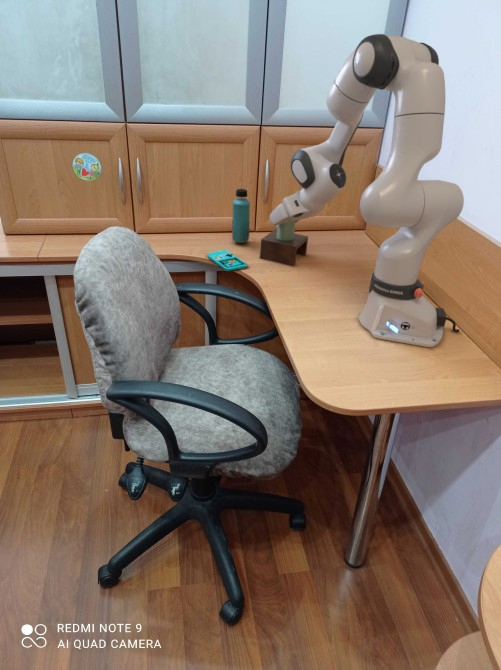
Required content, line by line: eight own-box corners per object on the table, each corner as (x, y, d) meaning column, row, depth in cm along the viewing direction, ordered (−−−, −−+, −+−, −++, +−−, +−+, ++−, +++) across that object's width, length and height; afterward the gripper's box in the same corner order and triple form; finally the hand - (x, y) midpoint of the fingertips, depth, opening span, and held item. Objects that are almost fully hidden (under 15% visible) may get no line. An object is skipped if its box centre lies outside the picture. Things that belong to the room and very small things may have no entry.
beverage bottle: (248, 246, 177) (251, 192, 166) (231, 245, 176) (232, 191, 166) (249, 240, 182) (251, 187, 171) (231, 239, 182) (233, 186, 171)
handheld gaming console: (226, 248, 171) (248, 264, 160) (226, 251, 171) (248, 267, 161) (205, 253, 167) (226, 268, 156) (205, 255, 167) (226, 271, 157)
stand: (306, 254, 173) (308, 236, 169) (293, 266, 163) (295, 246, 160) (273, 247, 177) (274, 229, 173) (259, 258, 168) (261, 239, 164)
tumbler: (296, 236, 168) (299, 211, 163) (289, 242, 163) (292, 216, 158) (280, 233, 170) (282, 208, 165) (273, 238, 165) (275, 213, 160)
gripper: (326, 189, 159) (302, 210, 170) (280, 198, 148) (258, 220, 159) (334, 206, 158) (310, 226, 170) (289, 216, 147) (266, 236, 158)
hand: (284, 223), depth 164 cm, fingers closed on tumbler, 6 cm apart
